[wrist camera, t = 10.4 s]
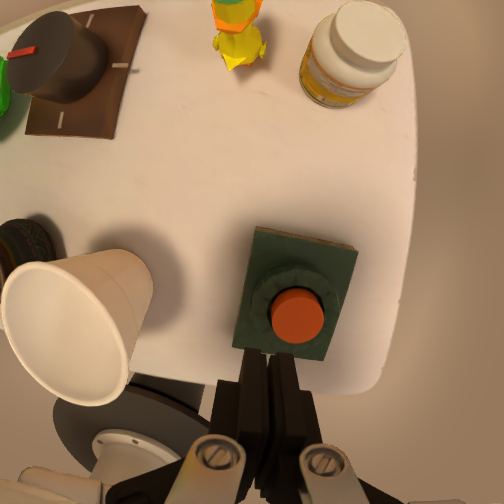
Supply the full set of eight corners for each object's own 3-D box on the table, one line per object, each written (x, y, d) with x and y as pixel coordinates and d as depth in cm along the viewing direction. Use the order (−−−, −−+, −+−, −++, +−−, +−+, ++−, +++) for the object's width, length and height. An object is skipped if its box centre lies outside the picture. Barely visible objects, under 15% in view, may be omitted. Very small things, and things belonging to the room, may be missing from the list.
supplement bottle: (324, 121, 22) (365, 91, 12) (284, 67, 21) (299, 10, 11) (375, 90, 21) (434, 54, 12) (336, 39, 20) (374, -19, 10)
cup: (61, 277, 25) (-13, 326, 15) (116, 201, 24) (32, 224, 13) (133, 349, 27) (84, 425, 16) (199, 285, 25) (162, 359, 15)
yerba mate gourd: (68, 223, 24) (-7, 250, 14) (63, 296, 26) (1, 343, 16) (18, 205, 24) (-55, 224, 14) (15, 274, 26) (-48, 308, 16)
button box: (320, 351, 27) (327, 373, 23) (233, 337, 26) (229, 359, 23) (352, 246, 24) (366, 257, 21) (255, 226, 24) (255, 234, 20)
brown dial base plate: (122, 140, 22) (110, 138, 20) (31, 135, 22) (17, 134, 20) (155, 14, 19) (148, 3, 17) (61, 24, 19) (50, 17, 17)
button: (312, 334, 23) (315, 346, 21) (266, 327, 23) (266, 339, 21) (325, 292, 22) (330, 302, 20) (277, 283, 22) (278, 292, 20)
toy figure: (234, 16, 19) (217, -77, 8) (277, 24, 20) (289, -69, 8) (212, 84, 21) (173, 14, 9) (257, 93, 21) (256, 23, 10)
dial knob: (117, 31, 18) (84, 2, 12) (95, 104, 20) (54, 90, 14) (58, 38, 18) (21, 18, 12) (38, 104, 19) (-5, 96, 14)
